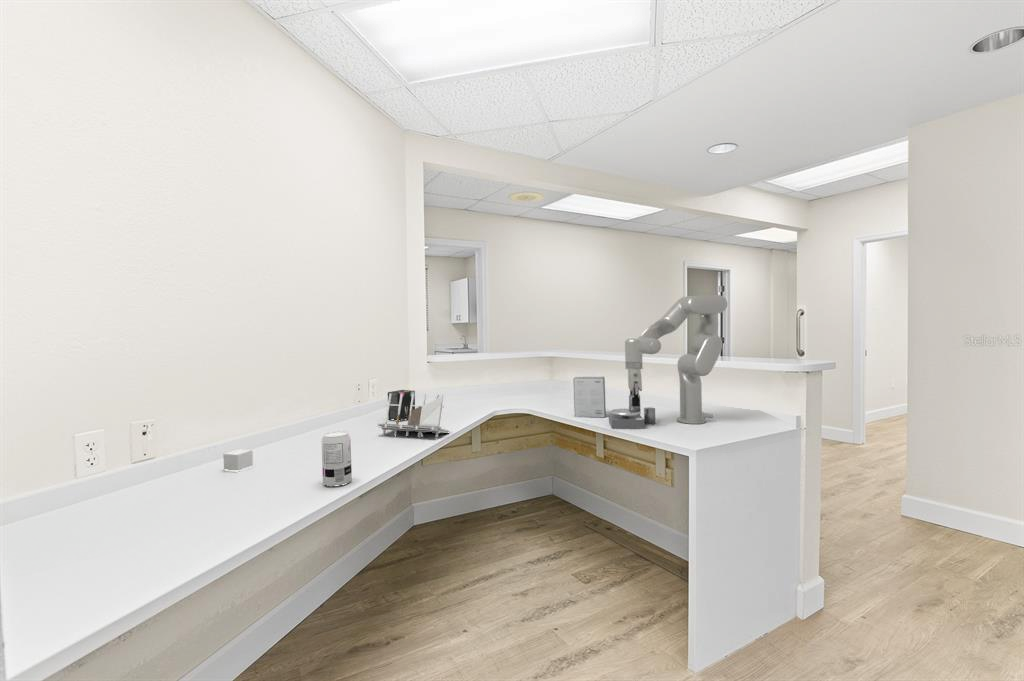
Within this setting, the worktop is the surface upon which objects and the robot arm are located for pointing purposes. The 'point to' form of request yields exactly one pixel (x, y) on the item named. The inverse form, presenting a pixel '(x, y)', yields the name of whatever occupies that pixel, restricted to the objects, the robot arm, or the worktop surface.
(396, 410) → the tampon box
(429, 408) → the architectural model
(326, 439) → the supplement can
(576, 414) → the hard drive box
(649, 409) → the steel spacer
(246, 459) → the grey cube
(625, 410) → the scale pan
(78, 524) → the worktop surface
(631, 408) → the cylinder
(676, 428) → the worktop surface
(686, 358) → the robot arm
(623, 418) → the scale body
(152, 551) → the worktop surface
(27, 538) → the worktop surface
